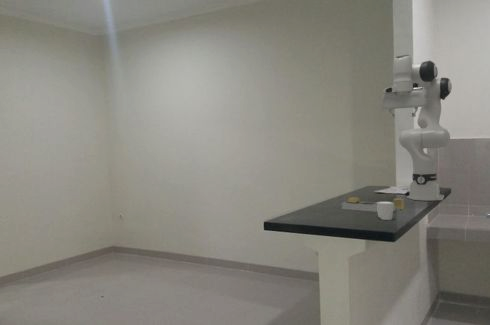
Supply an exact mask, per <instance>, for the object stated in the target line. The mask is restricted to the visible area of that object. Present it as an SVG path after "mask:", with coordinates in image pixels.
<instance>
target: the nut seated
mask: <svg viewBox="0 0 490 325" xmlns="http://www.w3.org/2000/svg"><path fill="white" fill-rule="evenodd" d="M347 201H348V203H354V204H358V203H359V201H360V197H356V196H355V197H353V196H351V197H348V198H347Z"/></svg>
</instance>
